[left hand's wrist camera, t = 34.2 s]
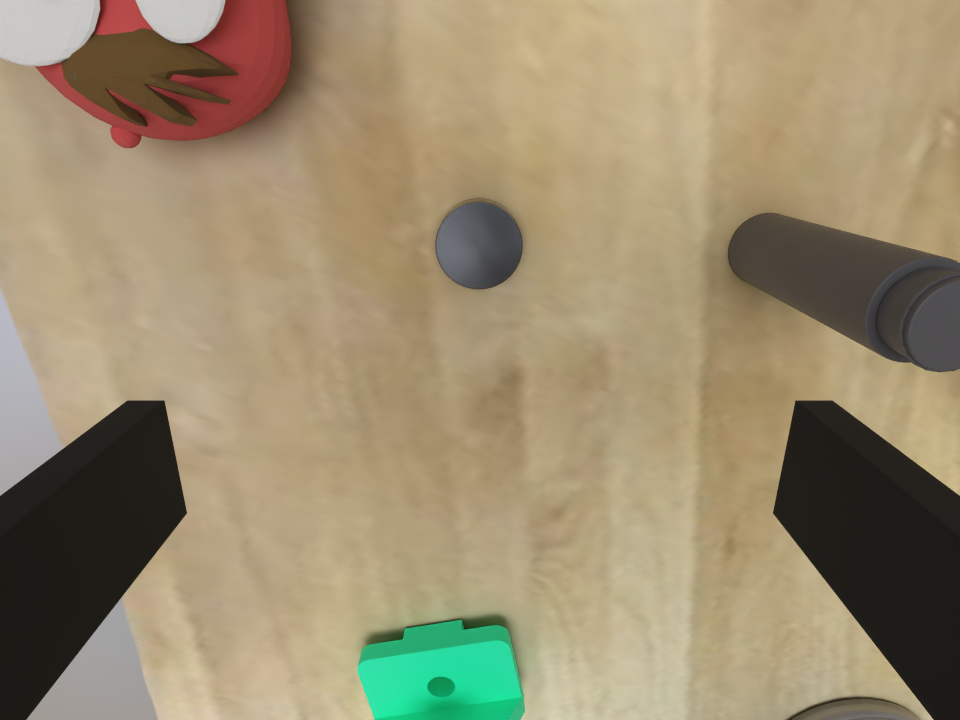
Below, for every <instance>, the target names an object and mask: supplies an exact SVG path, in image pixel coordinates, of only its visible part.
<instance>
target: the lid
mask: <svg viewBox="0 0 960 720" xmlns="http://www.w3.org/2000/svg"><path fill="white" fill-rule="evenodd" d="M522 247H523V245H522V236H521V233H520V230H519V227H518V225H517V223H516V221H515V219H514V217H513V216H512V214H511V213H510V212H509V211H508V210H507V209H506V208H505V207H503V206H502V205H500V204H499V203H497V202H495V201H492V200H488V199H480V198H478V199H470V200H466V201H464V202H461V203H460V204H458V205H456V206H455V207H453V208H452V209H451V210H450V211H449V212H448V213H447V215H446V216H445V218H444V219H443V221H442V223H441V225H440V228H439V230H438V233H437V237H436V254H437V258H438V261H439V264H440V266H441V267H442V269H443V271H444V272H445V273H446V274H447V275H448V277H449V278H451V279H452V280H453V281H454V282H456V283H458V284H460V285H462V286H464V287H467V288H472V289H487V288H491V287H494V286H497V285H499V284H501V283H502V282H504V281H505V280H506V279H508V278H509V277H510V276H511V275H512V273H513V272H514V271H515V269H516V268H517V266H518V264H519V262H520V259H521V255H522Z"/></svg>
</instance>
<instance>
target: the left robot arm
mask: <svg viewBox="0 0 960 720" xmlns="http://www.w3.org/2000/svg"><path fill="white" fill-rule="evenodd" d="M186 514H187V511H186V506H185V501H184V496H183V491H182V486H181V481H180V476H179V471H178V466H177V461H176V456H175V451H174V446H173V441H172V436H171V431H170V426H169V421H168V416H167V411H166V406H165V401H126V402H125V403H124V404H122V405H121V406H120V407H118V408H117V409H116V410H114V411H113V412H112V413H110V414H109V415H108V416H106V417H105V418H104V419H102V420H101V421H100V422H98V423H97V424H96V425H94V426H93V427H92V428H90V429H89V430H88V431H86V432H85V433H84V434H82V435H81V436H80V437H78V438H77V439H76V440H74V441H73V442H72V443H70V444H69V445H68V446H66V447H65V448H64V449H62V450H61V451H60V452H58V453H57V454H56V455H54V456H53V457H52V458H50V459H49V460H48V461H46V462H45V463H44V464H42V465H41V466H40V467H38V468H37V469H36V470H34V471H33V472H32V473H30V474H29V475H28V476H26V477H25V478H24V479H22V480H21V481H20V482H18V483H17V484H16V485H14V486H13V487H12V488H10V489H9V490H8V491H6V492H5V493H4V494H2V495H1V496H0V720H26V719H27V718H28V717H29V715H30V714H31V713H32V712H33V710H34V709H35V708H36V706H37V705H38V704H39V703H40V701H41V700H42V699H43V697H44V696H45V695H46V694H47V692H48V691H49V690H50V688H51V687H52V686H53V685H54V683H55V682H56V681H57V679H58V678H59V677H60V676H61V674H62V673H63V672H64V670H65V669H66V668H67V667H68V665H69V664H70V663H71V661H72V660H73V659H74V658H75V656H76V655H77V654H78V652H79V651H80V650H81V649H82V647H83V646H84V645H85V643H86V642H87V641H88V640H89V638H90V637H91V636H92V634H93V633H94V632H95V631H96V629H97V628H98V627H99V625H100V624H101V623H102V622H103V620H104V619H105V618H106V616H107V615H108V614H109V613H110V611H111V610H112V609H113V607H114V606H115V605H116V604H117V602H118V601H119V600H120V598H121V597H122V596H123V595H124V593H125V592H126V591H127V590H128V588H129V587H130V586H131V584H132V583H133V582H134V581H135V579H136V578H137V577H138V575H139V574H140V573H141V572H142V570H143V569H144V568H145V566H146V565H147V564H148V563H149V561H150V560H151V559H152V557H153V556H154V555H155V554H156V552H157V551H158V550H159V548H160V547H161V546H162V545H163V543H164V542H165V541H166V539H167V538H168V537H169V536H170V534H171V533H172V532H173V530H174V529H175V528H176V527H177V525H178V524H179V523H180V521H181V520H182V519H183V518H184V516H185V515H186ZM773 514H774V515H775V516H776V518H777V519H778V520H779V521H780V523H781V524H782V525H783V527H784V528H785V529H786V530H787V532H788V533H789V534H790V536H791V537H792V538H793V539H794V541H795V542H796V543H797V545H798V546H799V547H800V548H801V550H802V551H803V552H804V554H805V555H806V556H807V557H808V559H809V560H810V561H811V563H812V564H813V565H814V566H815V568H816V569H817V570H818V572H819V573H820V574H821V575H822V577H823V578H824V579H825V581H826V582H827V583H828V584H829V586H830V587H831V588H832V590H833V591H834V592H835V593H836V595H837V596H838V597H839V598H840V600H841V601H842V602H843V604H844V605H845V606H846V607H847V609H848V610H849V611H850V613H851V614H852V615H853V616H854V618H855V619H856V620H857V622H858V623H859V624H860V625H861V627H862V628H863V629H864V631H865V632H866V633H867V634H868V636H869V637H870V638H871V640H872V641H873V642H874V643H875V645H876V646H877V647H878V649H879V650H880V651H881V652H882V654H883V655H884V656H885V658H886V659H887V660H888V661H889V663H890V664H891V665H892V667H893V668H894V669H895V670H896V672H897V673H898V674H899V676H900V677H901V678H902V679H903V681H904V682H905V683H906V685H907V686H908V687H909V688H910V690H911V691H912V692H913V694H914V695H915V696H916V697H917V699H918V700H919V701H920V703H921V704H922V705H923V706H924V708H925V709H926V710H927V712H928V713H929V714H930V715H931V717H932V718H933V719H934V720H960V496H959V495H958V494H956V493H955V492H954V491H952V490H951V489H950V488H948V487H947V486H946V485H944V484H943V483H942V482H940V481H939V480H938V479H936V478H935V477H934V476H932V475H931V474H930V473H928V472H927V471H926V470H924V469H923V468H922V467H920V466H919V465H918V464H916V463H915V462H914V461H912V460H911V459H910V458H908V457H907V456H906V455H904V454H903V453H902V452H900V451H899V450H898V449H896V448H895V447H894V446H892V445H891V444H890V443H888V442H887V441H886V440H884V439H883V438H882V437H880V436H879V435H878V434H876V433H875V432H874V431H872V430H871V429H870V428H868V427H867V426H866V425H864V424H863V423H862V422H860V421H859V420H858V419H856V418H855V417H854V416H852V415H851V414H850V413H848V412H847V411H846V410H844V409H843V408H842V407H840V406H839V405H838V404H836V403H835V402H834V401H795V406H794V411H793V416H792V421H791V426H790V431H789V436H788V441H787V446H786V451H785V456H784V461H783V466H782V471H781V476H780V481H779V486H778V491H777V496H776V501H775V506H774V511H773ZM791 720H920V719H919V718H918V717H917V716H916V715H915V714H913V713H912V712H910V711H909V710H907V709H905V708H903V707H901V706H899V705H896V704H893V703H890V702H886V701H881V700H874V699H850V700H842V701H836V702H832V703H828V704H824V705H821V706H818V707H815V708H813V709H810V710H808V711H806V712H804V713H802V714H800V715H798V716H796V717H795V718H793V719H791Z"/></svg>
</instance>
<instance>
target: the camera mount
mask: <svg viewBox="0 0 960 720" xmlns="http://www.w3.org/2000/svg"><path fill="white" fill-rule="evenodd" d="M358 674H359V677H360V680H361V682H362V685H363V688H364V691H365V694H366V696H367V699H368V702H369V705H370V708H371V710H372V713H373V716H374V719H375V720H520V719H521V717H522V715H523V714H524V712H525V706H524V694H523V690H522V686H521V681H520V677H519V673H518V669H517V664H516V660H515V656H514V651H513V647H512V643H511V639H510V634H509V632H508V630H507V629H506V628H505V627H503V626H500V625H491V626H485V627H479V628H472V629H466V630H464V626H463V622H462V620H457V621H450V622H444V623H438V624H431V625H425V626H418V627H412V628H406V629H405V630H404V637H403V639H402V640H395V641H389V642H382V643H376V644H370V645H367V646H365V647H364V648H363V649H362V652H361V656H360V660H359V664H358Z"/></svg>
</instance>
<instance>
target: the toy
mask: <svg viewBox="0 0 960 720" xmlns="http://www.w3.org/2000/svg"><path fill="white" fill-rule="evenodd" d="M0 58H2V59H4V60H6V61H9V62H12V63H15V64H19V65H24V66H35V67H36V68H37V69H38V70H39V72H40V73H41V74H42V75H43V76H44V77H45V78H46V79H47V80H48V81H49V82H50V83H51V84H52V85H53V86H54V87H55V88H56V89H57V90H58V91H59V92H60V93H61V94H63V95H64V96H65V97H66V98H67V99H69V100H70V101H72V102H73V103H75V104H76V105H77V106H79V107H80V108H82V109H83V110H85V111H86V112H88V113H89V114H91V115H92V116H94V117H95V118H97V119H99V120H102V121H104V122H106V123H108V124H110V125H112V128H111V130H110V131H111V136H112V139H113V140H114V141H115V142H116V143H117V144H118V145H120V146H121V147H124V148H133V147H136V146H137V145H138V144H139V142H140V140H141V135H142V136H145V137H149V138H155V139H166V140H182V141H185V140H195V139H204V138H208V137H211V136H215V135H218V134H222V133H225V132H228V131H231V130H233V129H235V128H237V127H239V126H241V125H243V124H245V123H247V122H248V121H250V120H251V119H253V118H254V117H255V116H257V115H258V114H259V113H261V112H262V111H263V110H264V109H266V108H267V107H268V106H269V105H270V104H271V102H272V101H273V100H274V99H275V98H276V96H277V95H278V94H279V92H280V90H281V89H282V87H283V85H284V84H285V82H286V79H287V76H288V73H289V70H290V62H291V33H290V24H289V18H288V12H287V6H286V0H0Z"/></svg>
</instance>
